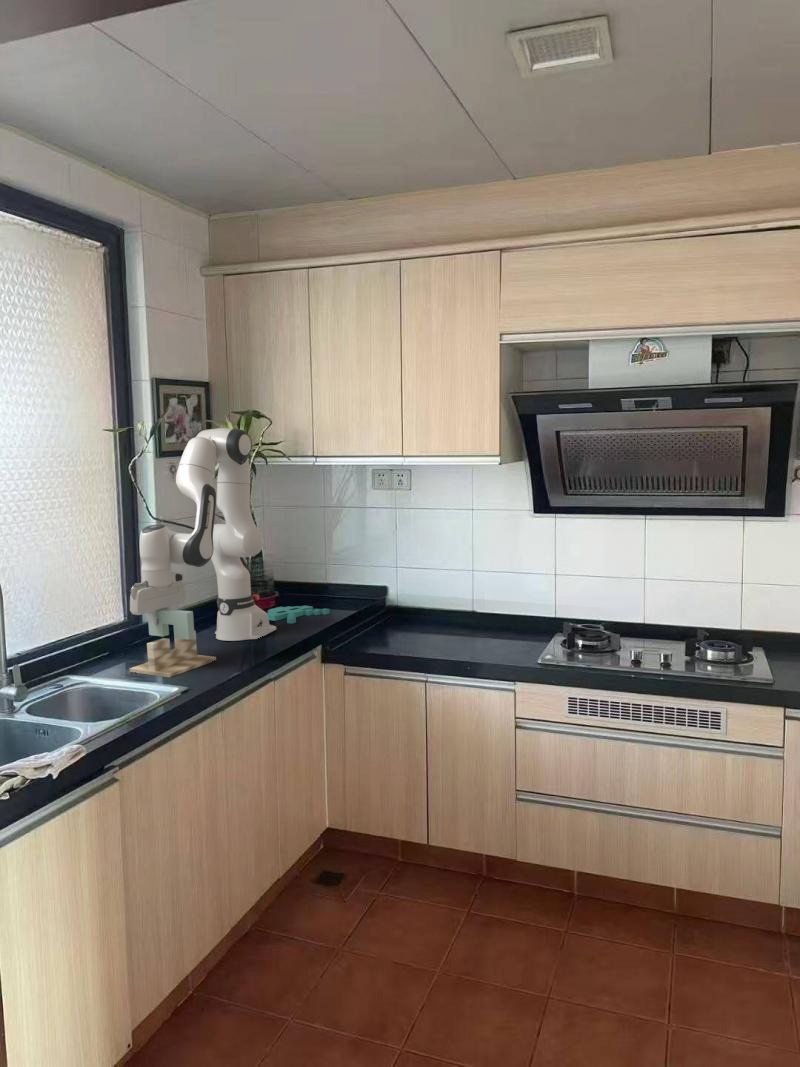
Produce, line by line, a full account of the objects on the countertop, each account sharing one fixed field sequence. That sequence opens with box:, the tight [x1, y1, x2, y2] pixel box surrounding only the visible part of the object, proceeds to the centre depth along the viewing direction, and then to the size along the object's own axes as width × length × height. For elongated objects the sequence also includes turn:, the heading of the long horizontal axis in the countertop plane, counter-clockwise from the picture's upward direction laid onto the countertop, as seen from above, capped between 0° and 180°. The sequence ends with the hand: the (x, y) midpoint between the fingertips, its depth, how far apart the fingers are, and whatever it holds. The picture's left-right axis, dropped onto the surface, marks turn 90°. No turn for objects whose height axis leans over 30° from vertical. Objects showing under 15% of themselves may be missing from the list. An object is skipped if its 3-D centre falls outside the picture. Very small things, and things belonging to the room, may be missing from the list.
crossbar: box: [147, 608, 195, 640], centre depth 254 cm, size 16×2×8 cm, turn 61°
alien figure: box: [266, 605, 330, 624], centre depth 322 cm, size 20×2×20 cm
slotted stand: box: [129, 630, 217, 678], centre depth 255 cm, size 20×16×9 cm
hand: (159, 623), depth 256 cm, fingers closed on crossbar, 2 cm apart
